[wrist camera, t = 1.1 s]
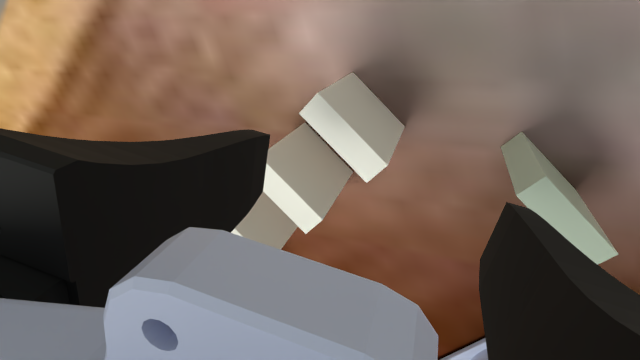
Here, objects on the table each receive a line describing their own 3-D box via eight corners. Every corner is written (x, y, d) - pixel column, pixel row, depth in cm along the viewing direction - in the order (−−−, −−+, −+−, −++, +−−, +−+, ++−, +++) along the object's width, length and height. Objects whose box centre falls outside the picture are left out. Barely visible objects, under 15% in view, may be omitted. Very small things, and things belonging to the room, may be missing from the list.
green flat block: (575, 189, 20) (618, 253, 14) (552, 202, 20) (586, 270, 15) (521, 131, 19) (545, 176, 14) (500, 146, 20) (516, 195, 15)
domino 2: (404, 126, 21) (387, 165, 16) (388, 140, 22) (366, 183, 16) (352, 71, 21) (317, 92, 16) (337, 87, 21) (298, 113, 16)
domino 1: (309, 210, 25) (270, 263, 20) (297, 220, 25) (256, 275, 20) (264, 164, 25) (212, 206, 19) (253, 176, 25) (200, 220, 20)
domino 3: (353, 172, 23) (322, 219, 18) (339, 184, 24) (305, 234, 18) (304, 122, 23) (259, 156, 17) (292, 135, 23) (244, 172, 18)
